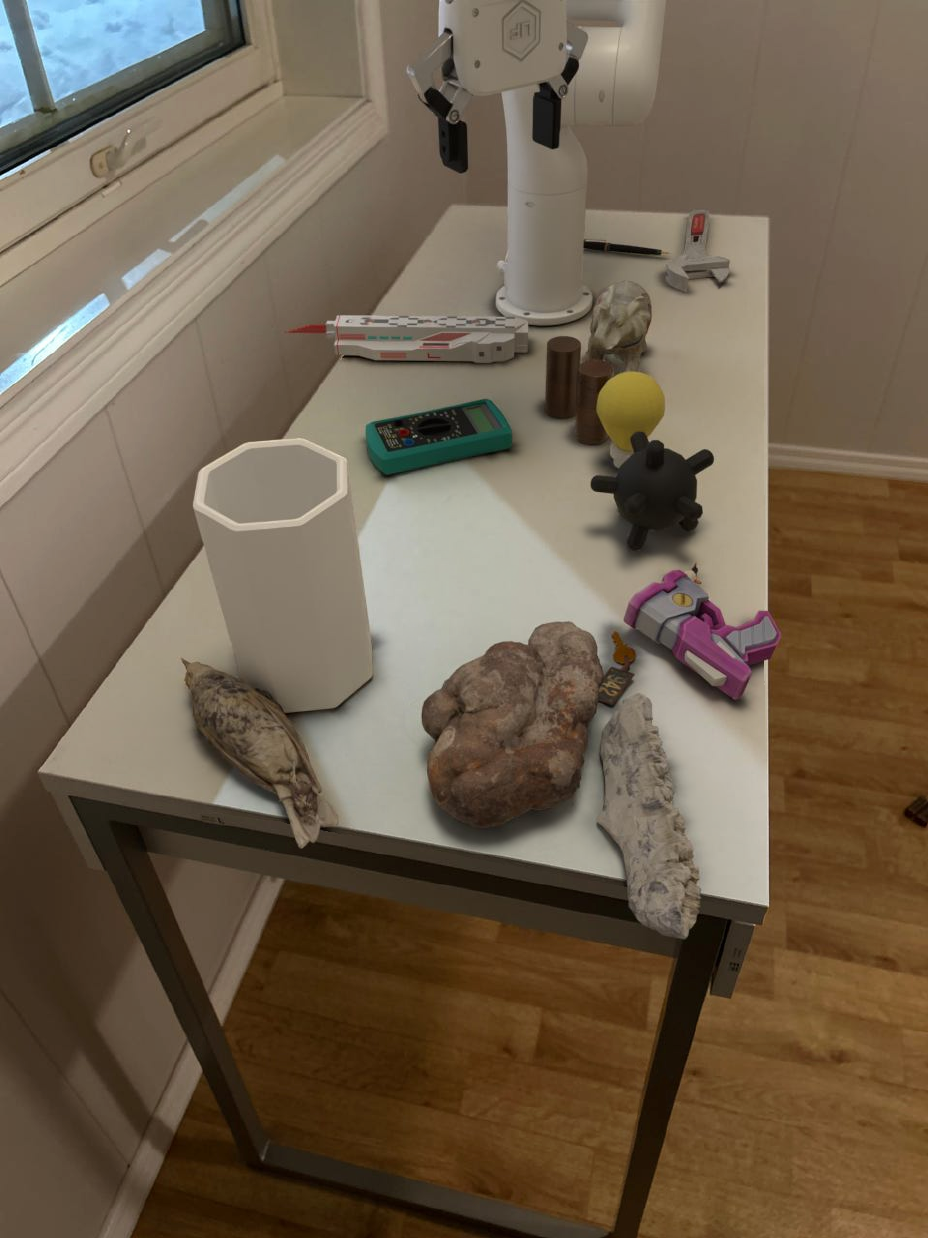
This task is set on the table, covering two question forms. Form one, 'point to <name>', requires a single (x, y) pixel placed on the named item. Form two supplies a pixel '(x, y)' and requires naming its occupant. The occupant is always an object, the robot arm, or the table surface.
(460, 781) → the rock
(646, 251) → the fountain pen
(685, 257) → the adjustable wrench
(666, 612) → the toy gun
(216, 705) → the bird model
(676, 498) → the toy ball
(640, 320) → the figurine
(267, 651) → the cup
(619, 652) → the key tag
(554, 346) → the peg far
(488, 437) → the digital multimeter
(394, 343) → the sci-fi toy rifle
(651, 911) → the fossil
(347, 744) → the table surface
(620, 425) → the yellow light bulb
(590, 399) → the peg mid
